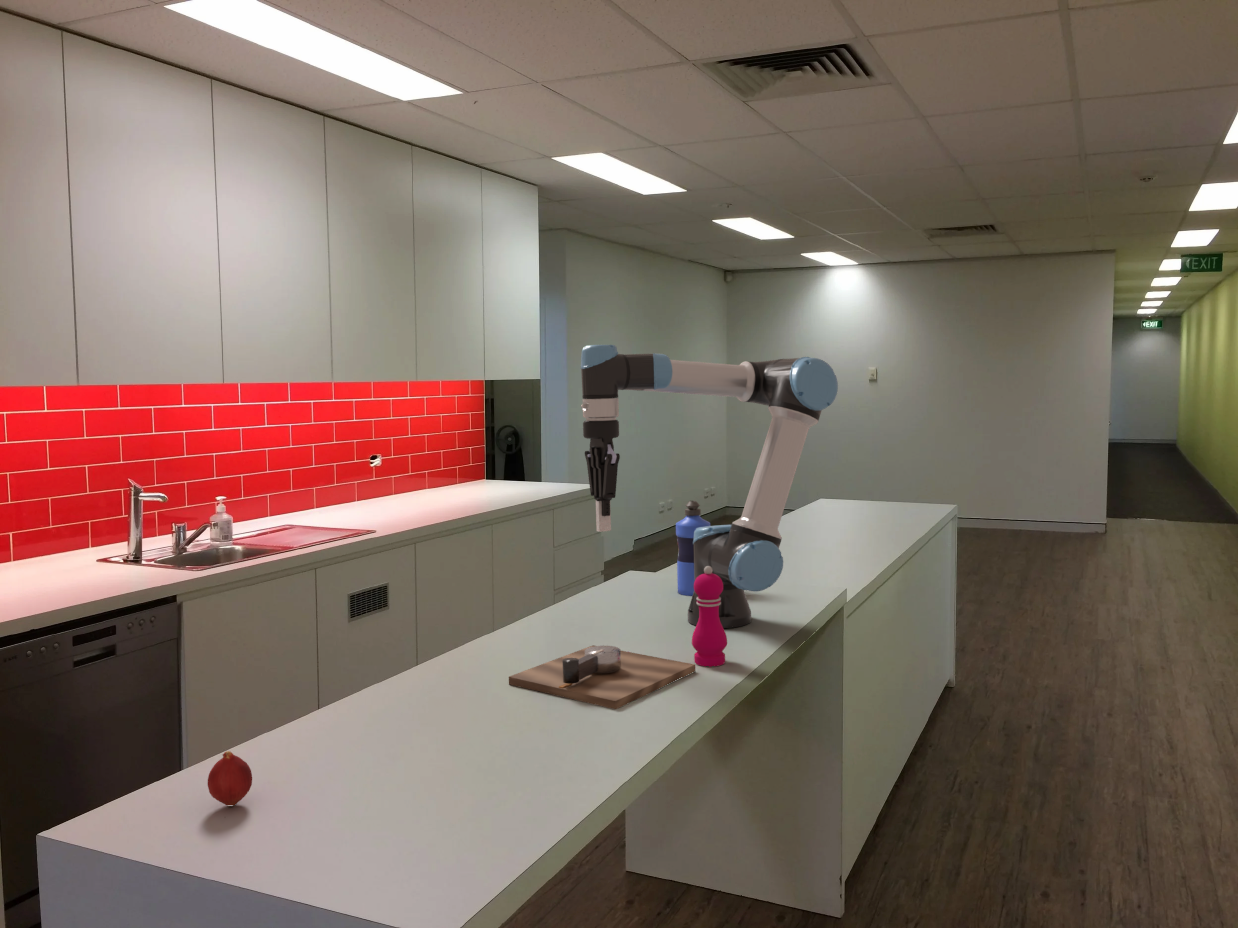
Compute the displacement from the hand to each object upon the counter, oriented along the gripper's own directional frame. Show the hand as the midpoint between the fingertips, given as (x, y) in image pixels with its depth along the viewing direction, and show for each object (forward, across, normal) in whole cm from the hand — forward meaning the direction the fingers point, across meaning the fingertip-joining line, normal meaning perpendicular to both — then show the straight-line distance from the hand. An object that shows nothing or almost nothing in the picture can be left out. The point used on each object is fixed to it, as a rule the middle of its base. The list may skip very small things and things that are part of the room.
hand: (603, 530), depth 204 cm
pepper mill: (+27, +17, +16) cm, 35 cm away
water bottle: (+27, -41, +45) cm, 67 cm away
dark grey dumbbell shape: (+24, +18, -12) cm, 32 cm away
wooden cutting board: (+26, +15, -8) cm, 31 cm away
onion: (+27, +42, -77) cm, 92 cm away
